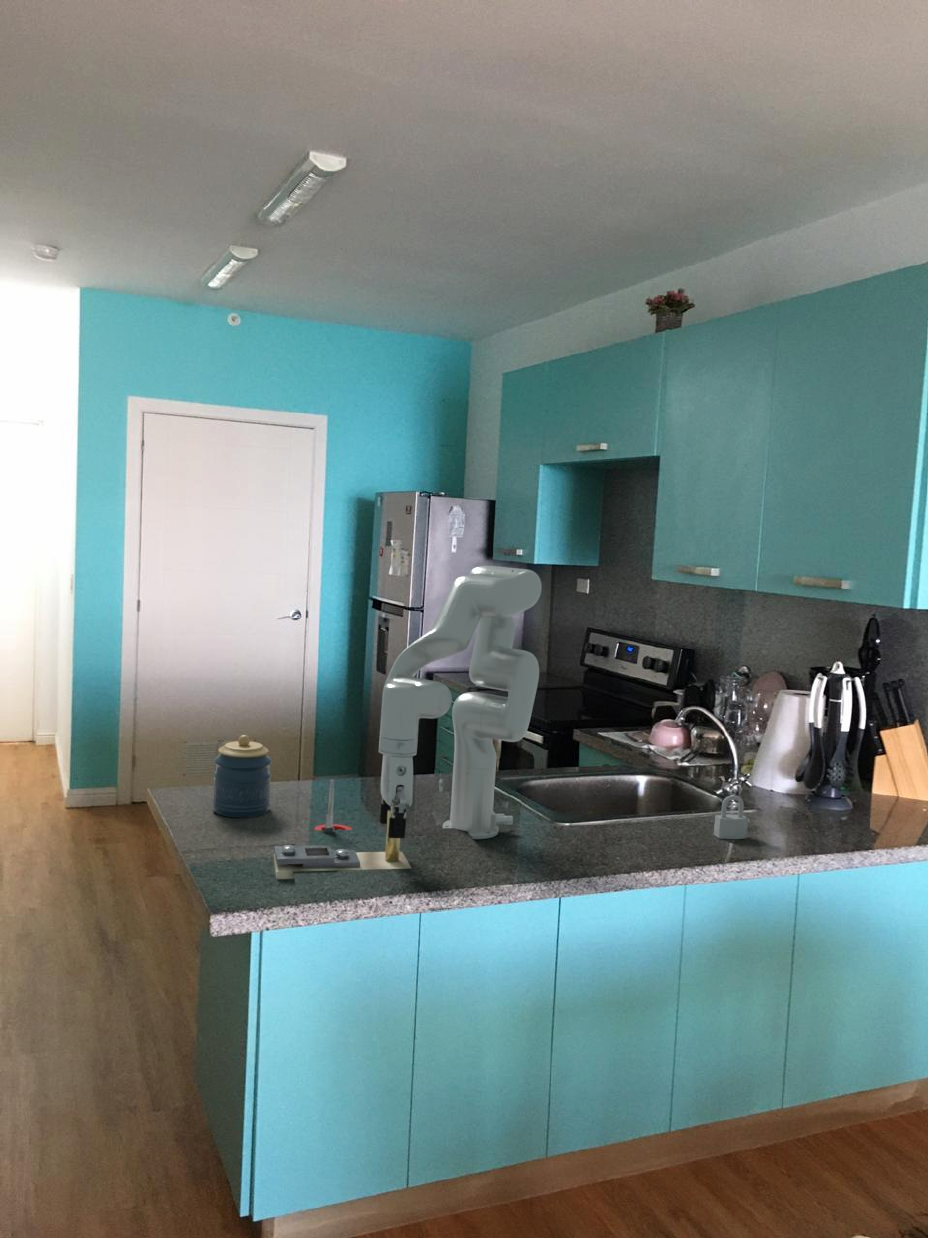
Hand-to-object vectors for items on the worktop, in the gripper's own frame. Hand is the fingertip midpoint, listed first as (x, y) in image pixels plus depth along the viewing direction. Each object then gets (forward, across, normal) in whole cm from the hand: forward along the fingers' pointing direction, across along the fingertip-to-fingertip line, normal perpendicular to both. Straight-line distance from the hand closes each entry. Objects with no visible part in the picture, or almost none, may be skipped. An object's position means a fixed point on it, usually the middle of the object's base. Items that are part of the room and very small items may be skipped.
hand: (391, 830), depth 205 cm
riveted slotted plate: (+6, +1, +14) cm, 16 cm away
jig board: (+8, +1, +9) cm, 12 cm away
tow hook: (+8, +23, +8) cm, 25 cm away
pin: (+6, 0, 0) cm, 6 cm away
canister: (+8, +41, +27) cm, 50 cm away
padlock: (+6, +16, -84) cm, 85 cm away
